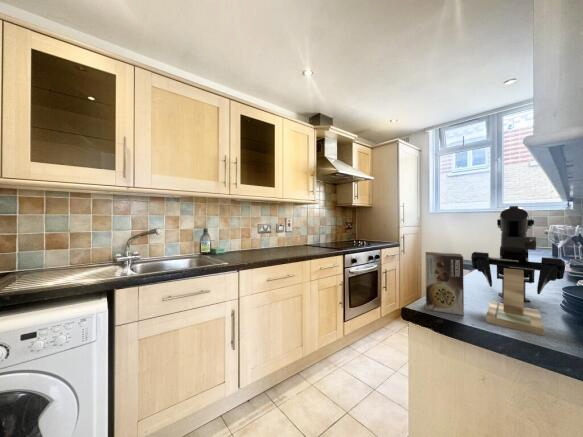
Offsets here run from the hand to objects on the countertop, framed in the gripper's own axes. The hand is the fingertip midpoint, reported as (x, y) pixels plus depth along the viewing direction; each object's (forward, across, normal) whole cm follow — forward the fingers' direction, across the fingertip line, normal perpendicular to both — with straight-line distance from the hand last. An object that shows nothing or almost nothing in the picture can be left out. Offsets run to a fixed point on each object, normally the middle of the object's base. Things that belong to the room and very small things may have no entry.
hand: (513, 289), depth 62 cm
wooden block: (+4, 0, +5) cm, 6 cm away
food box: (+10, -15, +1) cm, 18 cm away
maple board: (+6, 0, +5) cm, 8 cm away
